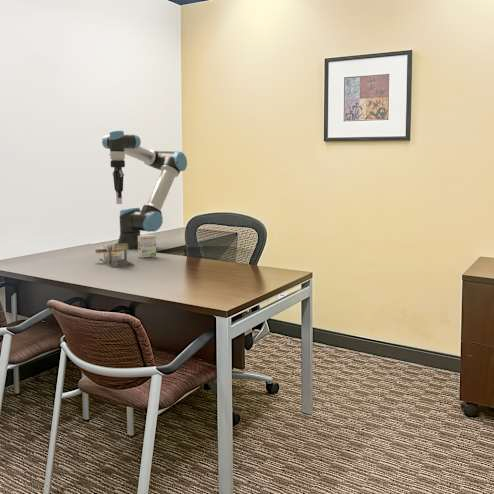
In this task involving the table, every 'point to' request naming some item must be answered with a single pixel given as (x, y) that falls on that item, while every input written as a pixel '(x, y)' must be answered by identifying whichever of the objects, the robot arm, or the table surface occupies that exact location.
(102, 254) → the white open box
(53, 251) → the table surface
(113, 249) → the lever
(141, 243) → the ink box
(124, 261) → the stand
